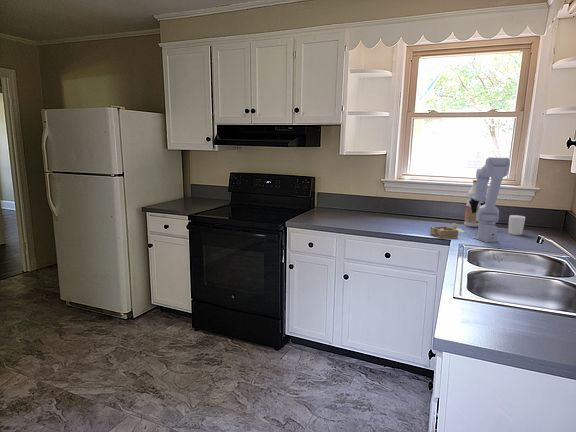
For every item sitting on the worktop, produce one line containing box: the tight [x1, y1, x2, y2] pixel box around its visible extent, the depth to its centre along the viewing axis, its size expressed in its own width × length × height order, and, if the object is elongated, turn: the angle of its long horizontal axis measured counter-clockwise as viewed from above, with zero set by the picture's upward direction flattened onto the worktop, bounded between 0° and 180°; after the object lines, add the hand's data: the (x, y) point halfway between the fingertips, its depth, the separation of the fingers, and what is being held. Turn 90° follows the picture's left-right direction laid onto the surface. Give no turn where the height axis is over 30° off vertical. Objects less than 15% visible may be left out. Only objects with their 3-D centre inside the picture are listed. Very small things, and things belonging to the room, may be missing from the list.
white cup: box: [508, 214, 526, 236], centre depth 226 cm, size 8×8×10 cm
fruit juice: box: [463, 179, 484, 228], centre depth 243 cm, size 9×9×28 cm
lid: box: [451, 223, 466, 234], centre depth 231 cm, size 10×10×4 cm
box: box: [430, 225, 459, 239], centre depth 217 cm, size 10×10×4 cm
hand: (478, 214), depth 227 cm, fingers open, 7 cm apart
